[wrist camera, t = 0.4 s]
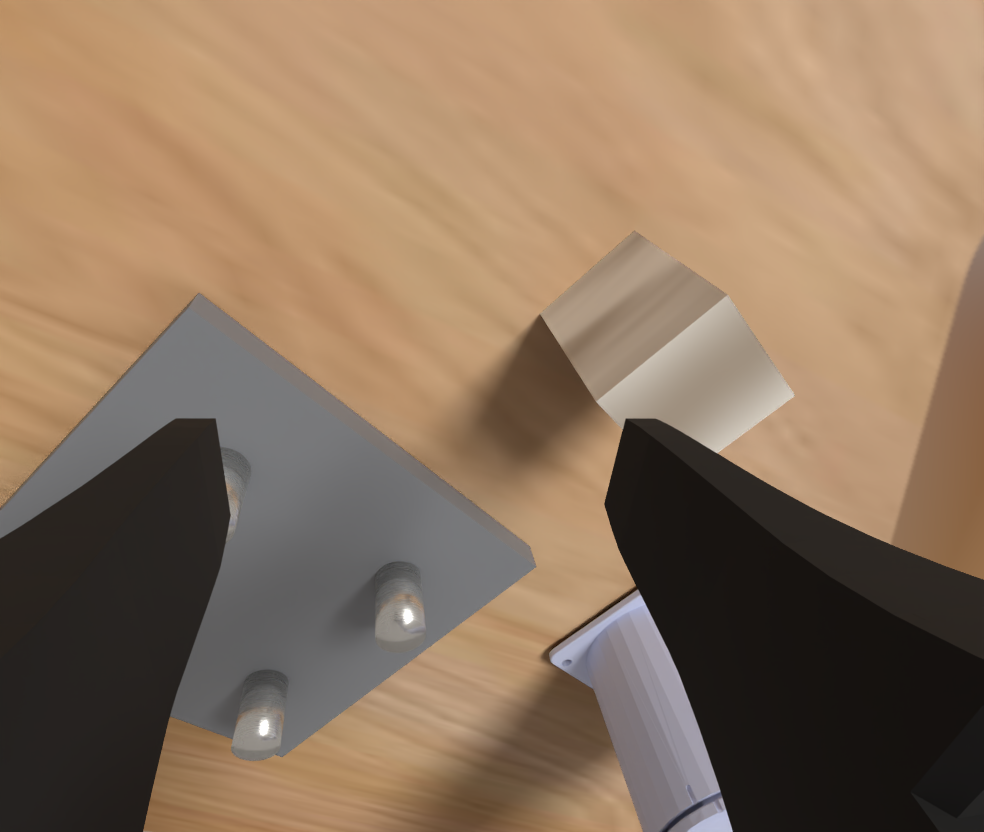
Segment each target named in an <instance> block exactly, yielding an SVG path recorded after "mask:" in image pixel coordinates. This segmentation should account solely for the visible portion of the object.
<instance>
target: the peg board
mask: <svg viewBox="0 0 984 832" xmlns="http://www.w3.org/2000/svg"><path fill="white" fill-rule="evenodd" d="M176 418H216V423H217V429H218V436H219V442H220V449H221V455H222V462H223V468H224V475H225V481H226V488H227V494H228V501H229V507H230V514H231V517H230V522H229V527H228V533H227V538H226V543H225V548H224V553H223V558H222V562H221V567H220V570H219V573H218V576H217V579H216V582H215V585H214V588H213V591H212V594H211V597H210V600H209V603H208V606H207V609H206V611H205V614H204V617H203V620H202V623H201V626H200V628H199V631H198V634H197V637H196V640H195V643H194V645H193V648H192V651H191V654H190V657H189V660H188V663H187V665H186V668H185V671H184V674H183V677H182V680H181V682H180V685H179V688H178V691H177V694H176V698H175V701H174V704H173V707H172V711H171V714H170V716H171V717H173V718H176V719H179V720H182V721H184V722H187V723H190V724H193V725H195V726H198V727H201V728H204V729H206V730H209V731H212V732H214V733H217V734H220V735H223V736H225V737H228V738H231V739H233V742H232V746H231V751H232V753H233V754H234V755H235V756H236V757H238V758H240V759H243V760H249V761H258V760H264V759H267V758H270V757H272V756H274V755H277V756H280V757H283V756H284V755H286V754H287V753H288V752H290V751H291V750H292V749H294V748H295V747H296V746H298V745H299V744H300V743H302V742H303V741H304V740H306V739H307V738H308V737H310V736H311V735H312V734H314V733H315V732H316V731H318V730H319V729H320V728H322V727H323V726H324V725H326V724H327V723H328V722H330V721H331V720H332V719H334V718H335V717H336V716H338V715H339V714H340V713H342V712H343V711H344V710H346V709H347V708H348V707H350V706H351V705H352V704H354V703H355V702H356V701H358V700H359V699H360V698H362V697H363V696H364V695H366V694H367V693H368V692H370V691H371V690H372V689H374V688H375V687H376V686H378V685H379V684H380V683H382V682H383V681H384V680H386V679H387V678H388V677H390V676H391V675H392V674H394V673H395V672H396V671H398V670H399V669H400V668H402V667H403V666H405V665H406V664H407V663H409V662H410V661H411V660H413V659H414V658H415V657H417V656H418V655H419V654H421V653H422V652H423V651H425V650H426V649H427V648H429V647H430V646H431V645H433V644H434V643H435V642H437V641H438V640H439V639H441V638H442V637H443V636H445V635H446V634H447V633H449V632H450V631H451V630H453V629H454V628H455V627H457V626H458V625H459V624H461V623H462V622H463V621H465V620H466V619H467V618H469V617H470V616H471V615H473V614H474V613H475V612H477V611H478V610H479V609H481V608H482V607H483V606H485V605H486V604H487V603H489V602H490V601H491V600H493V599H494V598H495V597H497V596H498V595H499V594H501V593H502V592H503V591H505V590H506V589H507V588H509V587H510V586H511V585H513V584H514V583H515V582H517V581H518V580H519V579H521V578H522V577H523V576H525V575H526V574H527V573H529V572H530V571H531V570H533V569H534V568H535V567H536V564H535V561H534V558H533V555H532V552H531V548H530V546H529V545H527V544H526V543H525V542H523V541H522V540H521V539H519V538H518V537H517V536H516V535H514V534H513V533H512V532H510V531H509V530H508V529H506V528H505V527H504V526H503V525H501V524H500V523H499V522H497V521H496V520H495V519H493V518H492V517H491V516H489V515H488V514H487V513H486V512H484V511H483V510H482V509H480V508H479V507H478V506H476V505H475V504H474V503H473V502H471V501H470V500H469V499H467V498H466V497H465V496H463V495H462V494H461V493H459V492H458V491H457V490H456V489H454V488H453V487H452V486H450V485H449V484H448V483H446V482H445V481H444V480H443V479H441V478H440V477H439V476H437V475H436V474H435V473H433V472H432V471H431V470H429V469H428V468H427V467H426V466H424V465H423V464H422V463H420V462H419V461H418V460H416V459H415V458H414V457H413V456H411V455H410V454H409V453H407V452H406V451H405V450H403V449H402V448H401V447H399V446H398V445H397V444H396V443H394V442H393V441H392V440H390V439H389V438H388V437H386V436H385V435H384V434H383V433H381V432H380V431H379V430H377V429H376V428H375V427H373V426H372V425H371V424H369V423H368V422H367V421H366V420H364V419H363V418H362V417H360V416H359V415H358V414H356V413H355V412H354V411H353V410H351V409H350V408H349V407H347V406H346V405H345V404H343V403H342V402H341V401H339V400H338V399H337V398H336V397H334V396H333V395H332V394H330V393H329V392H328V391H326V390H325V389H324V388H323V387H321V386H320V385H319V384H317V383H316V382H315V381H313V380H312V379H311V378H310V377H308V376H307V375H306V374H304V373H303V372H302V371H300V370H299V369H298V368H296V367H295V366H294V365H293V364H291V363H290V362H289V361H287V360H286V359H285V358H283V357H282V356H281V355H280V354H278V353H277V352H276V351H274V350H273V349H272V348H270V347H269V346H268V345H266V344H265V343H264V342H263V341H261V340H260V339H259V338H257V337H256V336H255V335H253V334H252V333H251V332H250V331H248V330H247V329H246V328H244V327H243V326H242V325H240V324H239V323H238V322H236V321H235V320H234V319H233V318H231V317H230V316H229V315H227V314H226V313H225V312H223V311H222V310H221V309H220V308H218V307H217V306H216V305H214V304H213V303H212V302H210V301H209V300H208V299H206V298H205V297H204V296H203V295H201V294H200V293H198V294H197V295H196V296H195V298H194V299H193V300H192V301H191V302H190V303H189V304H188V305H187V306H186V307H185V308H184V309H183V311H182V312H181V313H180V314H179V315H178V316H177V317H176V318H175V319H174V320H173V321H172V322H171V324H170V325H169V326H168V327H167V328H166V329H165V330H164V331H163V332H162V333H161V334H160V335H159V337H158V338H157V339H156V340H155V341H154V342H153V343H152V344H151V345H150V346H149V347H148V349H147V350H146V351H145V352H144V353H143V354H142V355H141V356H140V357H139V358H138V359H137V360H136V362H135V363H134V364H133V365H132V366H131V367H130V368H129V369H128V370H127V371H126V372H125V373H124V375H123V376H122V377H121V378H120V379H119V380H118V381H117V382H116V383H115V384H114V385H113V386H112V388H111V389H110V390H109V391H108V392H107V393H106V394H105V395H104V396H103V397H102V398H101V399H100V401H99V402H98V403H97V404H96V405H95V406H94V407H93V408H92V409H91V410H90V411H89V412H88V414H87V415H86V416H85V417H84V418H83V419H82V420H81V421H80V422H79V423H78V424H77V426H76V427H75V428H74V429H73V430H72V431H71V432H70V433H69V434H68V435H67V436H66V437H65V439H64V440H63V441H62V442H61V443H60V444H59V445H58V446H57V447H56V448H55V449H54V450H53V452H52V453H51V454H50V455H49V456H48V457H47V458H46V459H45V460H44V461H43V462H42V463H41V465H40V466H39V467H38V468H37V469H36V470H35V471H34V472H33V473H32V474H31V475H30V476H29V478H28V479H27V480H26V481H25V482H24V483H23V484H22V485H21V486H20V487H19V488H18V489H17V491H16V492H15V493H14V494H13V495H12V496H11V497H10V498H9V499H8V500H7V501H6V502H5V504H4V505H3V506H2V507H1V508H0V538H2V537H3V536H5V535H7V534H8V533H10V532H12V531H13V530H15V529H17V528H18V527H20V526H22V525H23V524H25V523H26V522H28V521H29V520H31V519H32V518H34V517H35V516H37V515H38V514H40V513H41V512H43V511H44V510H46V509H47V508H49V507H51V506H52V505H54V504H55V503H57V502H58V501H60V500H61V499H63V498H64V497H66V496H67V495H69V494H70V493H72V492H73V491H75V490H76V489H78V488H79V487H81V486H82V485H84V484H85V483H87V482H88V481H89V480H91V479H92V478H94V477H95V476H96V475H98V474H99V473H101V472H102V471H103V470H105V469H106V468H107V467H109V466H110V465H112V464H113V463H114V462H116V461H117V460H119V459H120V458H121V457H123V456H124V455H125V454H127V453H128V452H129V451H131V450H132V449H134V448H135V447H136V446H138V445H139V444H140V443H142V442H143V441H144V440H146V439H147V438H148V437H150V436H151V435H152V434H154V433H155V432H157V431H158V430H159V429H161V428H162V427H163V426H165V425H166V424H168V423H169V422H171V421H173V420H174V419H176Z"/></svg>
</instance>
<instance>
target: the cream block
mask: <svg viewBox="0 0 984 832" xmlns="http://www.w3.org/2000/svg"><path fill="white" fill-rule="evenodd" d="M540 315H541V316H542V318H543V319H544V321H545V323H546V324H547V326H548V327H549V329H550V330H551V332H552V334H553V335H554V337H555V338H556V340H557V341H558V343H559V344H560V346H561V348H562V349H563V351H564V352H565V354H566V355H567V357H568V359H569V360H570V362H571V363H572V365H573V366H574V368H575V370H576V371H577V373H578V374H579V376H580V377H581V379H582V381H583V382H584V384H585V385H586V387H587V388H588V390H589V392H590V393H591V395H592V396H593V398H594V399H595V401H596V402H597V403H598V404H599V405H600V406H601V407H602V409H603V410H604V411H605V412H606V413H607V414H608V415H609V416H610V417H611V418H612V419H613V420H614V421H615V422H616V423H617V424H618V425H619V426H620V427H621V429H622V430H623V427H624V423H625V419H626V418H656V419H658V420H660V421H662V422H664V423H666V424H668V425H670V426H672V427H674V428H676V429H677V430H679V431H681V432H683V433H684V434H686V435H688V436H689V437H691V438H693V439H694V440H696V441H698V442H699V443H701V444H703V445H704V446H706V447H708V448H709V449H711V450H712V451H714V452H716V453H718V452H719V451H721V450H722V449H724V448H725V447H726V446H728V445H729V444H730V443H732V442H733V441H734V440H736V439H737V438H738V437H740V436H741V435H743V434H744V433H745V432H747V431H748V430H749V429H751V428H752V427H753V426H755V425H756V424H757V423H759V422H760V421H761V420H763V419H764V418H766V417H767V416H768V415H770V414H771V413H772V412H774V411H775V410H776V409H778V408H779V407H780V406H782V405H783V404H784V403H786V402H787V401H789V400H790V399H791V398H793V397H794V396H795V395H794V393H793V392H792V390H791V389H790V387H789V386H788V384H787V383H786V381H785V380H784V378H783V377H782V375H781V374H780V372H779V371H778V369H777V368H776V366H775V365H774V363H773V362H772V360H771V359H770V357H769V356H768V354H767V353H766V351H765V350H764V348H763V347H762V345H761V344H760V342H759V341H758V339H757V338H756V336H755V335H754V333H753V332H752V330H751V329H750V327H749V326H748V324H747V323H746V321H745V320H744V318H743V317H742V315H741V314H740V312H739V311H738V309H737V308H736V306H735V305H734V303H733V302H732V300H731V299H730V297H729V296H728V295H727V294H726V293H724V292H723V291H722V290H720V289H719V288H717V287H716V286H714V285H713V284H711V283H710V282H708V281H707V280H706V279H704V278H703V277H701V276H700V275H698V274H697V273H695V272H694V271H692V270H691V269H690V268H688V267H687V266H685V265H684V264H682V263H681V262H679V261H678V260H676V259H675V258H674V257H672V256H671V255H669V254H668V253H666V252H665V251H663V250H662V249H661V248H659V247H658V246H656V245H655V244H653V243H652V242H650V241H649V240H647V239H646V238H645V237H643V236H642V235H640V234H639V233H637V232H636V231H633V232H632V233H631V234H630V235H629V236H628V237H626V238H625V239H624V240H623V241H622V242H621V243H620V244H618V245H617V246H616V247H615V248H614V249H613V250H612V251H610V252H609V253H608V254H607V255H606V256H605V257H604V258H603V259H601V260H600V261H599V262H598V263H597V264H596V265H595V266H593V267H592V268H591V269H590V270H589V271H588V272H587V273H585V274H584V275H583V276H582V277H581V278H580V279H579V280H578V281H576V282H575V283H574V284H573V285H572V286H571V287H570V288H568V289H567V290H566V291H565V292H564V293H563V294H562V295H560V296H559V297H558V298H557V299H556V300H555V301H554V302H553V303H551V304H550V305H549V306H548V307H547V308H546V309H545V310H543V311H542V312H541V313H540Z"/></svg>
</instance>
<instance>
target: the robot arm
mask: <svg viewBox="0 0 984 832" xmlns="http://www.w3.org/2000/svg"><path fill="white" fill-rule="evenodd" d="M604 505H605V508H606V511H607V515H608V518H609V521H610V525H611V528H612V531H613V534H614V537H615V540H616V543H617V546H618V548H619V551H620V553H621V555H622V557H623V559H624V562H625V564H626V566H627V568H628V570H629V572H630V574H631V576H632V578H633V580H634V582H635V584H636V586H637V588H638V590H636V591H635V592H633V593H632V594H630V595H629V596H628V597H626V598H625V599H623V600H622V601H620V602H619V603H618V604H616V605H615V606H613V607H612V608H610V609H609V610H608V611H606V612H605V613H603V614H602V615H600V616H599V617H598V618H596V619H595V620H593V621H592V622H590V623H589V624H588V625H586V626H585V627H583V628H582V629H580V630H579V631H578V632H576V633H575V634H573V635H572V636H570V637H569V638H568V639H566V640H565V641H563V642H562V643H560V644H559V645H558V646H556V647H555V648H553V649H552V650H551V651H550V653H549V657H550V661H551V663H552V664H554V665H555V666H557V667H559V668H560V669H562V670H563V671H565V672H567V673H568V674H570V675H571V676H573V677H574V678H576V679H578V680H579V681H581V682H582V683H584V684H586V685H587V686H589V687H590V688H592V689H594V692H595V695H596V698H597V701H598V703H599V706H600V709H601V712H602V715H603V718H604V721H605V724H606V726H607V729H608V732H609V735H610V738H611V741H612V744H613V747H614V749H615V752H616V755H617V758H618V761H619V764H620V767H621V770H622V773H623V775H624V778H625V781H626V784H627V787H628V790H629V793H630V796H631V798H632V801H633V804H634V807H635V810H636V813H637V816H638V819H639V821H640V824H641V827H642V830H643V832H984V580H983V579H980V578H977V577H974V576H971V575H969V574H966V573H963V572H960V571H957V570H954V569H952V568H949V567H946V566H943V565H941V564H938V563H936V562H933V561H931V560H928V559H926V558H923V557H920V556H918V555H915V554H913V553H910V552H907V551H905V550H903V549H900V548H898V547H895V546H893V545H890V544H888V543H886V542H883V541H881V540H879V539H876V538H874V537H872V536H870V535H867V534H865V533H863V532H861V531H859V530H857V529H855V528H852V527H850V526H848V525H846V524H844V523H842V522H840V521H837V520H835V519H833V518H831V517H829V516H827V515H825V514H823V513H821V512H819V511H817V510H815V509H813V508H811V507H809V506H807V505H805V504H804V503H802V502H800V501H798V500H796V499H794V498H793V497H791V496H789V495H787V494H785V493H783V492H782V491H780V490H778V489H776V488H774V487H773V486H771V485H769V484H767V483H766V482H764V481H762V480H760V479H759V478H757V477H755V476H754V475H752V474H750V473H749V472H747V471H745V470H744V469H742V468H740V467H739V466H737V465H735V464H734V463H732V462H730V461H729V460H727V459H725V458H724V457H722V456H721V455H719V454H717V453H716V452H714V451H712V450H711V449H709V448H708V447H706V446H704V445H703V444H701V443H699V442H698V441H696V440H694V439H693V438H691V437H689V436H688V435H686V434H684V433H683V432H681V431H679V430H677V429H676V428H674V427H672V426H670V425H668V424H666V423H664V422H662V421H660V420H658V419H656V418H626V419H625V423H624V427H623V431H622V435H621V439H620V443H619V447H618V451H617V455H616V459H615V463H614V467H613V471H612V475H611V479H610V483H609V487H608V491H607V495H606V499H605V503H604ZM230 517H231V514H230V507H229V501H228V494H227V488H226V481H225V475H224V468H223V462H222V455H221V449H220V442H219V436H218V429H217V423H216V418H176V419H174V420H173V421H171V422H169V423H168V424H166V425H165V426H163V427H162V428H161V429H159V430H158V431H157V432H155V433H154V434H152V435H151V436H150V437H148V438H147V439H146V440H144V441H143V442H142V443H140V444H139V445H138V446H136V447H135V448H134V449H132V450H131V451H129V452H128V453H127V454H125V455H124V456H123V457H121V458H120V459H119V460H117V461H116V462H114V463H113V464H112V465H110V466H109V467H107V468H106V469H105V470H103V471H102V472H101V473H99V474H98V475H96V476H95V477H94V478H92V479H91V480H89V481H88V482H87V483H85V484H84V485H82V486H81V487H79V488H78V489H76V490H75V491H73V492H72V493H70V494H69V495H67V496H66V497H64V498H63V499H61V500H60V501H58V502H57V503H55V504H54V505H52V506H51V507H49V508H47V509H46V510H44V511H43V512H41V513H40V514H38V515H37V516H35V517H34V518H32V519H31V520H29V521H28V522H26V523H25V524H23V525H22V526H20V527H18V528H17V529H15V530H13V531H12V532H10V533H8V534H7V535H5V536H3V537H2V538H0V832H143V829H144V824H145V820H146V815H147V811H148V806H149V801H150V797H151V792H152V788H153V784H154V779H155V775H156V771H157V767H158V762H159V758H160V754H161V750H162V746H163V741H164V737H165V733H166V729H167V725H168V721H169V717H170V714H171V711H172V707H173V704H174V701H175V698H176V694H177V691H178V688H179V685H180V682H181V680H182V677H183V674H184V671H185V668H186V665H187V663H188V660H189V657H190V654H191V651H192V648H193V645H194V643H195V640H196V637H197V634H198V631H199V628H200V626H201V623H202V620H203V617H204V614H205V611H206V609H207V606H208V603H209V600H210V597H211V594H212V591H213V588H214V585H215V582H216V579H217V576H218V573H219V570H220V567H221V562H222V558H223V553H224V548H225V543H226V538H227V533H228V527H229V522H230Z"/></svg>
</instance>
